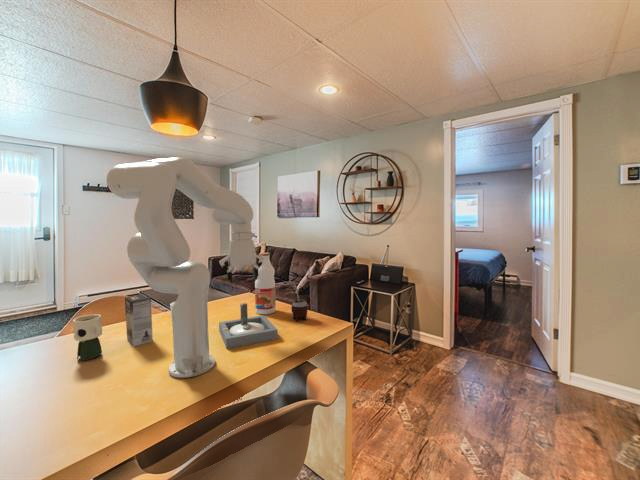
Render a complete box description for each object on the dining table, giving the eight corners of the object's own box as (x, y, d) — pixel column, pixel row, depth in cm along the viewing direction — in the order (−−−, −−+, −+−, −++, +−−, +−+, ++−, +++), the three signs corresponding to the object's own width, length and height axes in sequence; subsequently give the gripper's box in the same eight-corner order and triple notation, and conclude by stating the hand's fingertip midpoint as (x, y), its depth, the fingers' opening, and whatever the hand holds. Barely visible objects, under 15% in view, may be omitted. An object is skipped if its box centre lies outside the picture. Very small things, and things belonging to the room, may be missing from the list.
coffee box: (126, 339, 107) (123, 296, 106) (145, 334, 112) (143, 293, 111) (133, 347, 101) (131, 301, 100) (154, 341, 106) (151, 297, 105)
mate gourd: (304, 323, 123) (303, 287, 122) (287, 321, 126) (286, 286, 125) (310, 317, 130) (310, 284, 129) (294, 315, 133) (293, 283, 132)
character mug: (66, 359, 92) (63, 319, 91) (90, 350, 99) (88, 312, 98) (89, 365, 88) (86, 323, 88) (113, 355, 95) (110, 316, 94)
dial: (268, 334, 108) (267, 309, 107) (233, 340, 102) (232, 315, 102) (259, 323, 119) (258, 301, 119) (227, 328, 114) (226, 305, 113)
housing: (277, 338, 107) (277, 329, 107) (226, 349, 99) (226, 338, 99) (264, 323, 123) (263, 314, 123) (219, 331, 115) (218, 321, 115)
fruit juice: (279, 311, 139) (278, 252, 137) (264, 316, 132) (263, 254, 130) (266, 307, 145) (265, 251, 143) (251, 312, 138) (249, 253, 136)
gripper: (260, 235, 121) (261, 276, 122) (216, 237, 113) (218, 281, 114) (266, 236, 114) (267, 279, 116) (219, 238, 106) (222, 285, 107)
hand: (243, 280), depth 115 cm, fingers open, 9 cm apart
